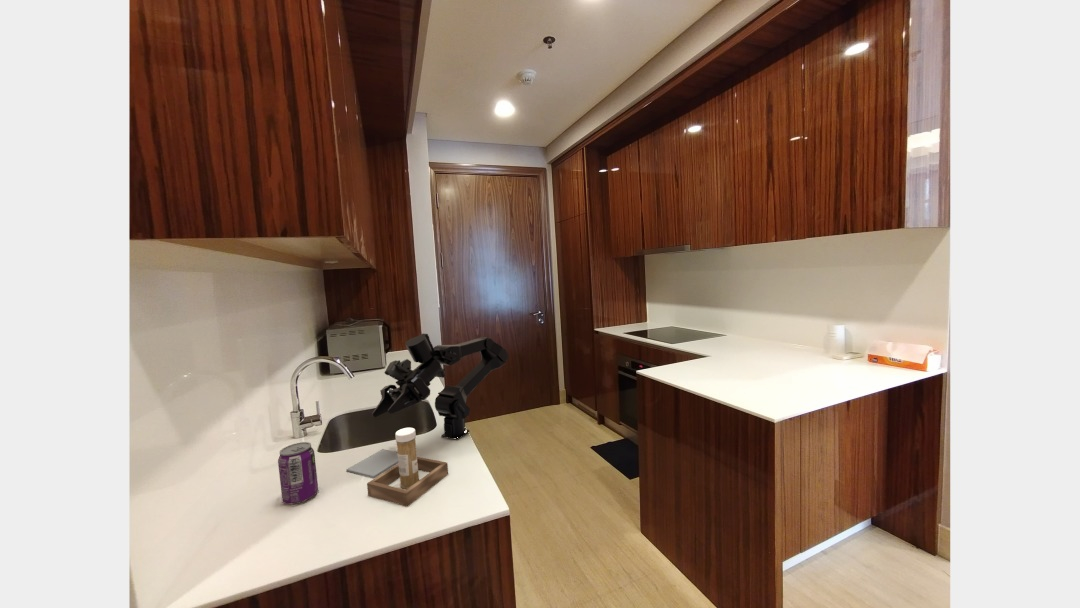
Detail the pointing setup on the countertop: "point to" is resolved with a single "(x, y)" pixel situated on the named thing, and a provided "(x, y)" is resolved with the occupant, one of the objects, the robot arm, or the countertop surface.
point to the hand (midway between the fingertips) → (380, 414)
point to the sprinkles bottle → (407, 457)
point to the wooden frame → (406, 497)
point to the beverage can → (297, 473)
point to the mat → (375, 464)
